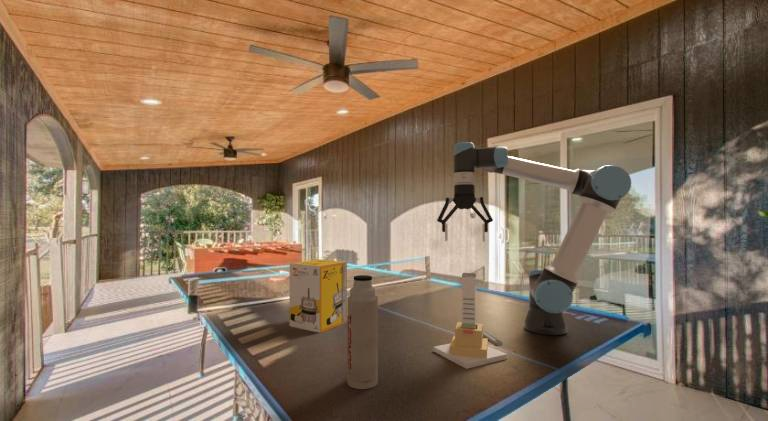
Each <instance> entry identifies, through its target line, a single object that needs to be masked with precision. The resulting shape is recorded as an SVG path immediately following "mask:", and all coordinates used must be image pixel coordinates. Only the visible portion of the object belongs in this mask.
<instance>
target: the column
mask: <svg viewBox="0 0 768 421" xmlns="http://www.w3.org/2000/svg"><path fill="white" fill-rule="evenodd" d="M461 312H462V313H461V319H462V320H461V322H462V328H467V329H476V323H477V273H476V272H462V274H461Z"/></svg>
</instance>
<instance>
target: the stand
mask: <svg viewBox="0 0 768 421" xmlns="http://www.w3.org/2000/svg"><path fill="white" fill-rule="evenodd" d="M477 323H478V322H476V329H467V328H462V321H461V322H460V321H458V322H457V323H456V326H455V329H454V335H453V337H452V339H451V342H450V343H445V344H440V345H435V346H433V352H434V353H436V354H438V355H440V356H441V357H444V358H445V359H447V360H449V361H451V362H453V363H455V364H457V365H458V366H460V367H462V368H464V369H466V370H467V369H471V368H477V367H481V366H484V365H487V364H492V363H495V362H501V361H504V360H508V354H507V353H505V352H503V351H501V350H498V349H496V348H494V347H492V346H489V343H488V342H489V340H488V339H487V338H484V337H483V330H484V324H483V323H478V324H477Z"/></svg>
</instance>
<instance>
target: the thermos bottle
mask: <svg viewBox="0 0 768 421" xmlns="http://www.w3.org/2000/svg"><path fill="white" fill-rule="evenodd" d="M372 280H373V276H372V275H369V274H368V275H365V274H364V275H363V274H362V275H354V276H353V285H352V287H351V288H350V289H349V296H347V323H346V325H347V327H346V328H347V350H346V351H347V352H346V354H347V360H346V361H347V374H346V375H347V377H346V378H347V381H346V382H347V385H348V386H349V387H350V388H353V389H357V390H366V389H371V388H374V387H376V386H377V385H378V381H379V378H378V377H379V375H378V374H379V373H378V370H379V369H378V368H379V366H378V365H379V363H378V362H379V361H378V360H379V359H378V358H379V357H378V345H379V344H378V343H379V342H378V340H379V338H378V337H379V326H378V325H379V317H378V316H379V314H378V312H379V310H378V308H379V307H378V306H379V302H378V301H379V298H378V296H376V294H377V293H376V288H374V286H372V285H373V281H372Z"/></svg>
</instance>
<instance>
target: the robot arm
mask: <svg viewBox="0 0 768 421" xmlns="http://www.w3.org/2000/svg"><path fill="white" fill-rule="evenodd" d="M453 149H454V150H453V183H454V186H453V191H454V192H453V197H452V198H451V197H448V196H447V197H445V203H444V205H443V207H442V208H441V211H440V214H439V216H438V217H437V220H436V221H437V222H438V223H441V232H442V233H444V242H448V241H449V240H448V239H449V237H448V236H449V233H448V232H449V230H448V229H449V228H448V226H449V224H448V223H447V222H448V221H449V219H451V217H452V216H453V215H454V213H455V212H456V211H457V210H464V209H465V210H470V209H472V211H474V213H476V215H477V216H478V217H479V218H480V220H482V221H483V223H482V226H481V227H482V228H481V230H482V232H481V233H482V242H486V239H485V237H486V236H485V234H486V233H488V231H489V228H488V227H489V224H490V223H491V222H493V217H492V215H491V213H490V212H489V210H488V208H487V206H486V204H485V201H484V197H483V196H480V197H476V195H475V194H476V193H475V192H476V190H475V186H476V185H475V176H476V174H475V169H483V170H484V171H485V172H486V173H493V174H494V173H495V174H499V175H504V176H507V177H508V176H509V177H513V178H517V179H520V180H525V181H529V182H533V183H538V184H541V185H546V186H550V187H554V188H558V189H563V190H566V191H568V193H569V194H572V195H575V196H578V197H579V201H580V202H581V203H580V206H579V208H578V210H577V212H576V213H575V215H574V218H573V220H572V221H571V224H570V226H569V227H568V229H567V231H566V233H565V235H564V237H563V239H562V242H561V243H560V246H559V248H558V249H557V252H556V253H555V256H554V257H553V260H552V261H551V263H550V264H549V265H546V266H544V267H543V269H531V270H530V271H529V273H528V282H529V284H528V291H529V293H528V297H529V298H528V302H529V303H528V304H529V305H528V307H529V308H528V311H527V314H526V318H525V320H524V329H525V330H527V331H528V332H530V333H531V332H532V333H535V334H540V335H547V336H561V335H562V336H563V335H565V334H567V333H568V325H567V323H566V320H565V315H564V312H566V311H567V310H568V309H569V308H570V307H571V306H572V303H573V300H574V299H573V298H574V297H573V296H574V295H573V293H574V291H575V290H576V287H577V285H578V279H577V277H576V276H577V274H578V272H579V270H580V268H581V266H582V264H583V263H584V261H585V258H586V257H587V255H588V253H589V250H590V248H591V247H592V245H593V243H594V241H595V239H596V238H597V237H596V236H597V235H598V233H599V231H600V229H601V227H602V225H603V223H604V221H605V219H606V217H607V216H608V214H609V213H612V212H615V211H616V209H617V207H618V205H619V203H620V201H621V199H623V198H625V196H627V195H628V194H629V192H630V190H631V187H632V179H631V177H630V174H629V173H628V171H627V170H625V169H624V168H622V167H621V166H618V165H614V164H613V165H612V164H610V165H609V164H608V165H606V164H605V165H603V166H602V165H601V166H599V167H598V168H596V169H593V170H592V169H591V170H590V169H589V170H588V169H581V168H576V169H574V170H573V169H568V168H564V167H561V166H560V167H559V166H555V165H550V164H546V163H540V162H538V161H537V162H536V161H532V160H528V159H524V158H519V157H515V156H510V155H509V149H508V147H507V146H500V145H499V146H498V145H497V146H490V147H475V144H474V143H473V142H472V141H471V142H469V141H461V142H457V143H455V144H454V147H453ZM452 202H453V204H454V206H453V208H452V209H451V210H450V211H449V212H448V213H447V215H446V216H445V213H446V211H447V210H448V207H449V205H450V204H452ZM476 202H477V203H478V204H480V205H481V206H480V207H482V209H483V211H484V213H485V215H486V217H487V219H486V217H485V216H484V215H483V214H482V213H481V212H480V211H479V209H477V207H476V205H474V204H475V203H476ZM444 216H445V217H444ZM443 218H444V219H443Z"/></svg>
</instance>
